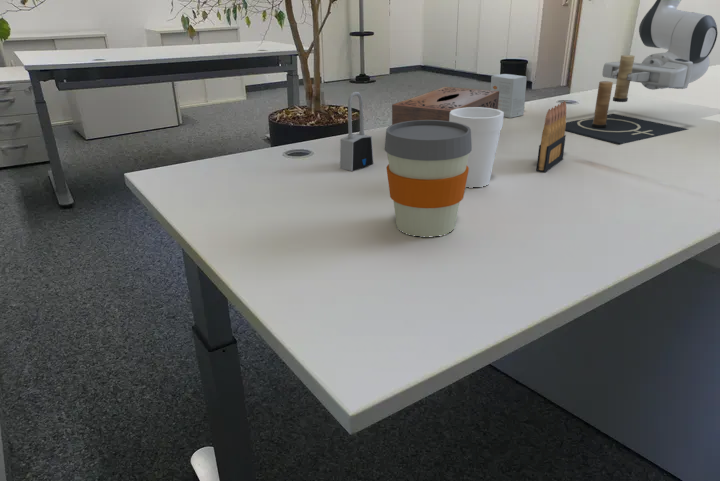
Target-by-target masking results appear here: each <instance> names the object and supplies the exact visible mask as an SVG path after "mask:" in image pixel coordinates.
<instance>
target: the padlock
mask: <svg viewBox="0 0 720 481" xmlns="http://www.w3.org/2000/svg"><path fill="white" fill-rule="evenodd" d="M354 97H358V104H359V105H358V107H359V131H358V132H359V133H353V126H352V125H353V122H352V120H353V118H352V117H353V116H352V102H353V99H354ZM363 102H364V101H363V96H362V94H361V93H360V92H359V91H354V92H352V93H350V95H349V96H348V98H347V125H348V126H347V127H348V128H347V130H348V134H347V135H346V136H344V137H342V138H340V142H339V143H340V145H339V146H340V147H339V148H340V149H339V168H340V169H341V170H345V171H349V172H355V171H358V170H361V169H366V168H367V167H369V166H372V165H373V164H374V151H373V150H374V149H373V148H374V147H373V136H372V135H368V134H365V130H364V103H363Z"/></svg>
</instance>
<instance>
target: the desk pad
mask: <svg viewBox="0 0 720 481" xmlns="http://www.w3.org/2000/svg"><path fill="white" fill-rule="evenodd" d="M593 120H594V116H592V117H588V118H582V119H576V120H571V121H566V127H565V132H568V133H571V134H575V135H579V136H583V137H588V138H591V139H595V140H599V141H603V142H608V143H611V144H615V145H619V146H620V145H625V144H629V143H634V142H638V141H642V140H647V139H652V138H656V137H661V136H665V135H670V134H674V133H678V132H683V131H688V130H689V128H685V127H682V126H681V127H680V126H676V125H671V124H667V123H660V122H657V121H651V120H646V119H641V118H637V117H632V116H626V115H621V114H618V113H610V114H609V113H608V114H607V120H606V124H607V126H606V128H594V127H592V123H593Z"/></svg>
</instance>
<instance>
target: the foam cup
mask: <svg viewBox="0 0 720 481" xmlns="http://www.w3.org/2000/svg"><path fill="white" fill-rule="evenodd" d="M504 118H505V117H504V112H502V111H500V110H497V109H492V108H483V107H466V108H458V109H454V110H451V112H450V115H449V121H450V122H456V123H460V124H463V125H466V126H468V127H469V128H470V129H471V143H472V151H471V152H470V153H469V155H468V160H467V166H468V168H469V171H468V176H467V181H466V186H465V188H466V187H469V188H468V189H474V188H473V187H482V188H484V187H483V186H486V185H488V184H489V185H490V181H491V178H492V171H493V167H494V163H495V158H496V154H497V149H498V145H499V140H500V134H501V130H502V129H503V127H504ZM489 185H488V186H489ZM486 187H487V186H486Z"/></svg>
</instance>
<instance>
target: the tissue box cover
mask: <svg viewBox="0 0 720 481" xmlns="http://www.w3.org/2000/svg"><path fill="white" fill-rule="evenodd" d="M498 102H499V91H492V90H491V89H480V88H479V89H477V88H466V87H452V86H443V87H440V88H437V89H433V90H432V91H427V92H425V93H422V94H419V95H417V96H413V97H410V98H408V99H407V98H406V99H405V100H401V101H399V102H396V103H393V104H391V125H393V124H397V123H401V122H406V121H416V120H441V121H449V115H450V112H451V110H454V109H458V108H466V107H483V108H492V109H497V110H498Z"/></svg>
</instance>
